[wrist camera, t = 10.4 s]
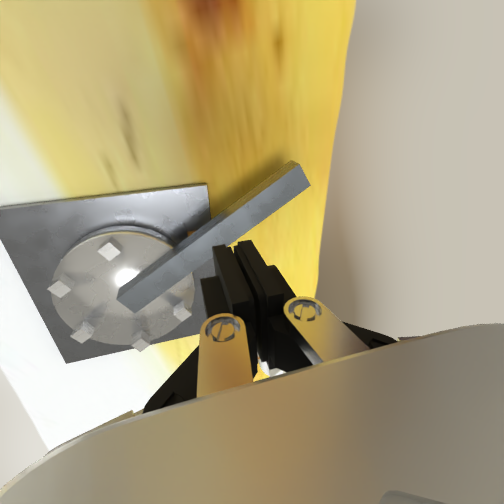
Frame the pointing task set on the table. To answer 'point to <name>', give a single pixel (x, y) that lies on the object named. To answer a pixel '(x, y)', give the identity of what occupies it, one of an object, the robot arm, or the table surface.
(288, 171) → the grey disc with handle
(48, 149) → the table surface
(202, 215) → the plate
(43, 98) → the table surface
